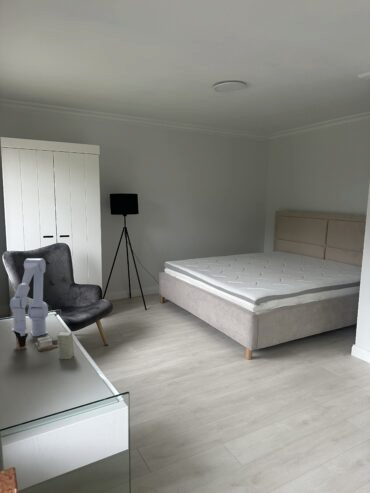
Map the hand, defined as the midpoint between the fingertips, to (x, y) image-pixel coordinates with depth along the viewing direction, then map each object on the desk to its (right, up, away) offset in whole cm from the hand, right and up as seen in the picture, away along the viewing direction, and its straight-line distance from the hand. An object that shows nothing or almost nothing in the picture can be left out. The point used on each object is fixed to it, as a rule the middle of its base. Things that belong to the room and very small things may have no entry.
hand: (21, 344), depth 179 cm
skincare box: (+27, -3, -11) cm, 30 cm away
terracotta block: (0, -2, 0) cm, 2 cm away
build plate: (+13, -1, +2) cm, 13 cm away
